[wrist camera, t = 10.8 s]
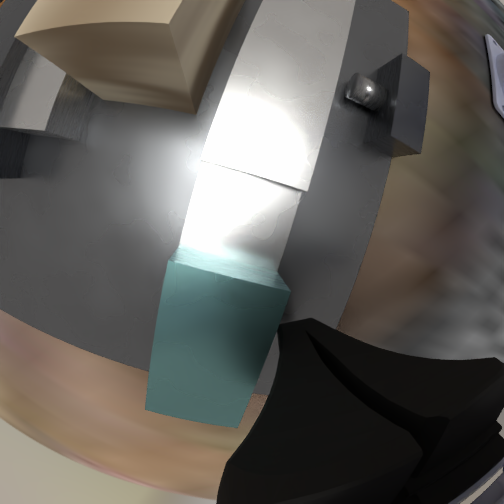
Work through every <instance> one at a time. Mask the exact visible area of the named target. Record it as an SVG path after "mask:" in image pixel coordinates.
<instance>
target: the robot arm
mask: <svg viewBox="0 0 504 504" xmlns="http://www.w3.org/2000/svg"><path fill="white" fill-rule="evenodd" d="M485 39H486V44H487V50H488V56H489V62H490V70H491V79H492V90H493V103H494V106H495V108H496V110H497V111H498V112H499V113H500V115H501V116H502V117H503V118H504V50H503V49H502V48H501V47H500V46H499V45H498V43H497V42H496V41H495V40H494V39H493V38H492V37H491V36H490V35H489V34H486V35H485ZM277 336H278V345H279V359H278V365H277V370H276V374H275V378H274V381H273V384H272V387H271V390H270V393H269V395H268V398H267V400H266V402H265V405H264V407H263V409H262V411H261V413H260V415H259V417H258V418H257V420H256V422H255V423H254V425H253V427H252V428H251V430H250V432H249V433H248V435H247V436H246V438H245V439H244V441H243V442H242V443H241V444H240V446H239V447H238V448H237V450H236V451H235V452H234V453H233V455H232V456H231V457H230V458H229V460H228V461H227V462H226V466H225V469H224V472H223V475H222V478H221V482H220V486H219V490H218V495H217V503H216V504H460V503H461V502H463V501H464V500H465V499H466V498H468V497H469V496H470V495H472V494H473V493H474V492H475V491H476V490H478V489H479V488H480V487H481V486H482V485H484V484H485V483H486V482H487V481H488V480H489V479H490V478H491V477H493V476H494V475H495V474H496V473H497V472H498V471H499V470H500V469H501V468H502V467H503V466H504V439H503V437H502V436H500V435H499V432H500V431H501V429H502V426H501V425H500V424H499V423H498V422H497V421H496V420H497V418H498V417H499V415H500V413H501V411H502V409H503V408H504V363H502V362H501V361H500V360H498V359H497V358H495V357H493V358H483V359H471V360H440V359H429V358H422V357H415V356H409V355H404V354H400V353H396V352H392V351H388V350H385V349H381V348H378V347H375V346H372V345H370V344H367V343H364V342H362V341H359V340H357V339H355V338H352V337H350V336H348V335H346V334H344V333H342V332H339V331H337V330H335V329H333V328H331V327H330V326H328V325H326V324H324V323H322V322H320V321H318V320H316V319H314V318H307V319H302V320H297V321H292V322H287V323H282V324H279V326H278V329H277ZM471 504H504V467H503V473H502V474H501V475H500V476H499V477H498V478H497V479H496V480H495V481H494V482H493V483H492V484H491V486H489V487H488V488H487V489H486V490H485V491H484V492H483V493H482V494H481V495H480V496H479V497H478V498H476V499H475V500H474V501H473V502H472V503H471Z"/></svg>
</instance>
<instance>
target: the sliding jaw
mask: <svg viewBox="0 0 504 504" xmlns="http://www.w3.org/2000/svg"><path fill="white" fill-rule="evenodd" d="M355 1H356V0H263V1H262V3H261V5H260V7H259V9H258V12H257V14H256V16H255V18H254V20H253V22H252V25H251V27H250V29H249V31H248V33H247V36H246V38H245V40H244V43H243V45H242V47H241V50H240V52H239V54H238V57H237V59H236V62H235V64H234V67H233V69H232V72H231V74H230V77H229V79H228V82H227V85H226V87H225V90H224V93H223V95H222V98H221V101H220V103H219V106H218V109H217V112H216V115H215V118H214V120H213V123H212V126H211V129H210V132H209V135H208V138H207V141H206V144H205V148H204V151H203V154H202V157H201V160H202V163H201V167H200V170H199V173H198V177H197V180H196V184H195V187H194V191H193V194H192V198H191V201H190V205H189V209H188V212H187V216H186V220H185V224H184V228H183V232H182V236H181V240H180V244H179V247H178V248H177V249H176V251H175V252H174V253H173V255H172V256H171V257H170V259H169V260H168V264H167V269H166V273H165V278H164V283H163V288H162V293H161V299H160V304H159V309H158V315H157V321H156V327H155V333H154V340H153V346H152V353H151V361H150V368H149V377H148V385H147V395H146V405H145V410H148V411H152V412H155V413H159V414H163V415H168V416H172V417H176V418H181V419H185V420H190V421H196V422H201V423H207V424H213V425H219V426H226V427H234V428H238V426H239V423H240V421H241V419H242V416H243V414H244V412H245V409H246V407H247V405H248V402H249V400H250V398H251V395H252V393H253V390H254V388H255V386H256V383H257V381H258V378H259V376H260V373H261V371H262V368H263V366H264V363H265V361H266V358H267V355H268V353H269V350H270V348H271V345H272V342H273V340H274V337H275V335H276V332H277V329H278V326H279V324H280V321H281V318H282V316H283V313H284V310H285V307H286V305H287V302H288V299H289V296H290V293H291V291H290V289H289V288H288V286H287V285H286V284H285V282H284V281H283V279H282V278H281V276H280V275H279V274H278V272H277V271H278V268H279V265H280V262H281V258H282V255H283V252H284V249H285V246H286V243H287V240H288V236H289V233H290V230H291V227H292V224H293V220H294V217H295V214H296V210H297V207H298V204H299V201H300V197H301V194H302V191H305V192H307V191H308V188H309V185H310V181H311V178H312V174H313V171H314V167H315V164H316V160H317V157H318V153H319V150H320V146H321V142H322V139H323V135H324V131H325V128H326V124H327V120H328V116H329V113H330V109H331V105H332V101H333V97H334V93H335V89H336V85H337V81H338V77H339V73H340V69H341V65H342V60H343V56H344V52H345V48H346V43H347V39H348V34H349V30H350V25H351V20H352V15H353V11H354V6H355Z"/></svg>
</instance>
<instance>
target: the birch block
mask: <svg viewBox="0 0 504 504" xmlns="http://www.w3.org/2000/svg"><path fill="white" fill-rule="evenodd" d="M244 2H245V0H37V2H36V3H35V4H34V6H33V7H32V9H31V10H30V12H29V13H28V15H27V16H26V18H25V19H24V21H23V23H22V24H21V26H20V28H19V29H18V31H17V33H16V34H15V36H14V37H15V38H17V39H18V40H20V41H21V42H23V43H24V44H26V45H27V46H29V47H30V48H32V49H33V50H34V51H36V52H37V53H39V54H40V55H42V56H43V57H45V58H46V59H47V60H49V61H50V62H52V63H53V64H54V65H56V66H57V67H59V68H60V69H62V70H63V71H64V72H66V73H67V74H68V75H70V76H71V77H73V78H74V79H75V80H77V81H78V82H79V83H81V84H82V85H84V86H85V87H86V88H88V89H89V90H90V91H92V92H93V93H94V94H96V95H97V96H98V97H100V98H101V99H102V100H109V101H118V102H126V103H134V104H140V105H147V106H153V107H159V108H165V109H170V110H175V111H180V112H185V113H190V114H194V115H196V114H197V112H198V109H199V106H200V103H201V100H202V98H203V95H204V92H205V90H206V87H207V85H208V82H209V79H210V77H211V74H212V72H213V69H214V67H215V64H216V62H217V60H218V57H219V55H220V53H221V50H222V48H223V46H224V43H225V41H226V39H227V37H228V35H229V32H230V30H231V28H232V26H233V24H234V22H235V20H236V18H237V16H238V14H239V12H240V10H241V8H242V6H243V4H244Z"/></svg>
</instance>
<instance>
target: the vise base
mask: <svg viewBox="0 0 504 504" xmlns="http://www.w3.org/2000/svg"><path fill="white" fill-rule="evenodd" d="M262 1H263V0H245V2H244V4H243V6H242V8H241V10H240V12H239V14H238V16H237V18H236V20H235V22H234V24H233V26H232V28H231V30H230V32H229V35H228V37H227V39H226V41H225V43H224V46H223V48H222V50H221V53H220V55H219V57H218V60H217V62H216V64H215V67H214V69H213V72H212V74H211V77H210V79H209V82H208V85H207V87H206V90H205V92H204V95H203V98H202V100H201V103H200V106H199V109H198V112H197V114H196V115H194V114H190V113H185V112H180V111H175V110H170V109H165V108H159V107H153V106H147V105H140V104H134V103H126V102H118V101H109V100H102V99H101V98H100V97H98V96H97V95H96V94H94V93H93V92H92V91H90V90H89V89H88V88H86V87H85V86H84V85H82V84H81V83H79V82H78V81H77V80H75V79H74V78H73V77H71V76H70V75H68V74H67V73H66V72H64V71H63V70H62V69H60V68H59V67H57V66H56V65H54V64H53V63H52V62H50V61H49V60H47V59H46V58H45V57H43V56H42V55H40V54H39V53H37V52H36V51H34V50H33V49H32V48H30V47H29V46H27V45H26V44H24V43H23V42H21V41H20V40H18V39H17V38H15V37H14V36H15V34H16V33H17V31H18V29H19V28H20V26H21V24H22V23H23V21H24V19H25V18H26V16H27V15H28V13H29V12H30V10H31V9H32V7H33V6H34V4H35V3H36V2H37V0H6V1H5V2H4V3H3V5H2V6H1V8H0V309H1V310H3V311H4V312H6V313H8V314H10V315H12V316H13V317H15V318H17V319H19V320H21V321H23V322H24V323H26V324H28V325H30V326H32V327H34V328H36V329H38V330H40V331H42V332H45V333H47V334H49V335H51V336H53V337H55V338H58V339H60V340H62V341H64V342H67V343H69V344H71V345H74V346H76V347H79V348H81V349H84V350H86V351H89V352H91V353H94V354H97V355H100V356H102V357H105V358H108V359H111V360H114V361H117V362H120V363H123V364H126V365H129V366H132V367H135V368H139V369H142V370H145V371H149V368H150V361H151V353H152V346H153V340H154V333H155V327H156V321H157V315H158V309H159V304H160V299H161V293H162V288H163V283H164V278H165V273H166V269H167V264H168V260H169V259H170V257H171V256H172V255H173V253H174V252H175V251H176V249H177V248H178V247H179V244H180V240H181V236H182V232H183V228H184V224H185V220H186V216H187V212H188V209H189V205H190V201H191V198H192V194H193V191H194V187H195V184H196V180H197V177H198V173H199V170H200V167H201V163H202V160H201V157H202V154H203V151H204V148H205V144H206V141H207V138H208V135H209V132H210V129H211V126H212V123H213V120H214V118H215V115H216V112H217V109H218V106H219V103H220V101H221V98H222V95H223V93H224V90H225V87H226V85H227V82H228V79H229V77H230V74H231V72H232V69H233V67H234V64H235V62H236V59H237V57H238V54H239V52H240V50H241V47H242V45H243V43H244V40H245V38H246V36H247V33H248V31H249V29H250V27H251V25H252V22H253V20H254V18H255V16H256V14H257V12H258V9H259V7H260V5H261V3H262ZM408 21H409V11H407V10H406V9H404V8H402V7H401V6H399V5H398V4H396V3H394V2H393V1H391V0H356V1H355V6H354V11H353V15H352V20H351V25H350V30H349V34H348V39H347V43H346V48H345V52H344V56H343V60H342V65H341V69H340V73H339V77H338V81H337V85H336V89H335V93H334V97H333V101H332V105H331V109H330V113H329V116H328V120H327V124H326V128H325V131H324V135H323V139H322V142H321V146H320V150H319V153H318V157H317V160H316V164H315V167H314V171H313V174H312V178H311V181H310V185H309V188H308V191H307V192H305V191H302V194H301V197H300V201H299V204H298V207H297V210H296V214H295V217H294V220H293V224H292V227H291V230H290V233H289V236H288V240H287V243H286V246H285V249H284V252H283V255H282V258H281V262H280V265H279V268H278V271H277V272H278V274H279V275H280V276H281V278H282V279H283V281H284V282H285V284H286V285H287V286H288V288H289V289H290V291H291V293H290V296H289V299H288V302H287V305H286V307H285V310H284V313H283V316H282V318H281V321H280V324H282V323H287V322H292V321H297V320H302V319H307V318H314V319H316V320H318V321H320V322H322V323H324V324H326V325H328V326H330V327H331V328H333V329H335V330H336V328H337V325H338V323H339V321H340V318H341V316H342V313H343V311H344V308H345V306H346V304H347V301H348V298H349V296H350V293H351V291H352V288H353V285H354V283H355V280H356V277H357V275H358V272H359V269H360V266H361V263H362V261H363V258H364V255H365V252H366V249H367V246H368V243H369V239H370V236H371V233H372V230H373V227H374V223H375V220H376V217H377V213H378V210H379V206H380V202H381V199H382V195H383V191H384V187H385V183H386V179H387V175H388V171H389V167H390V162H391V158H392V157H398V156H405V155H413V154H421V149H422V143H423V137H424V130H425V123H426V114H427V105H428V94H429V80H430V72H429V71H428V70H426V69H425V68H424V67H422V66H421V65H419V64H418V63H417V62H415V61H414V60H412V59H411V58H409V57H408V56H407V46H408ZM278 359H279V345H278V336H277V332H276V335H275V337H274V340H273V342H272V345H271V348H270V350H269V353H268V355H267V358H266V361H265V363H264V366H263V368H262V371H261V373H260V376H259V378H258V381H257V383H256V386H255V388H254V390H253V393H256V394H264V395H269V393H270V390H271V387H272V384H273V381H274V378H275V374H276V370H277V365H278Z"/></svg>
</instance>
